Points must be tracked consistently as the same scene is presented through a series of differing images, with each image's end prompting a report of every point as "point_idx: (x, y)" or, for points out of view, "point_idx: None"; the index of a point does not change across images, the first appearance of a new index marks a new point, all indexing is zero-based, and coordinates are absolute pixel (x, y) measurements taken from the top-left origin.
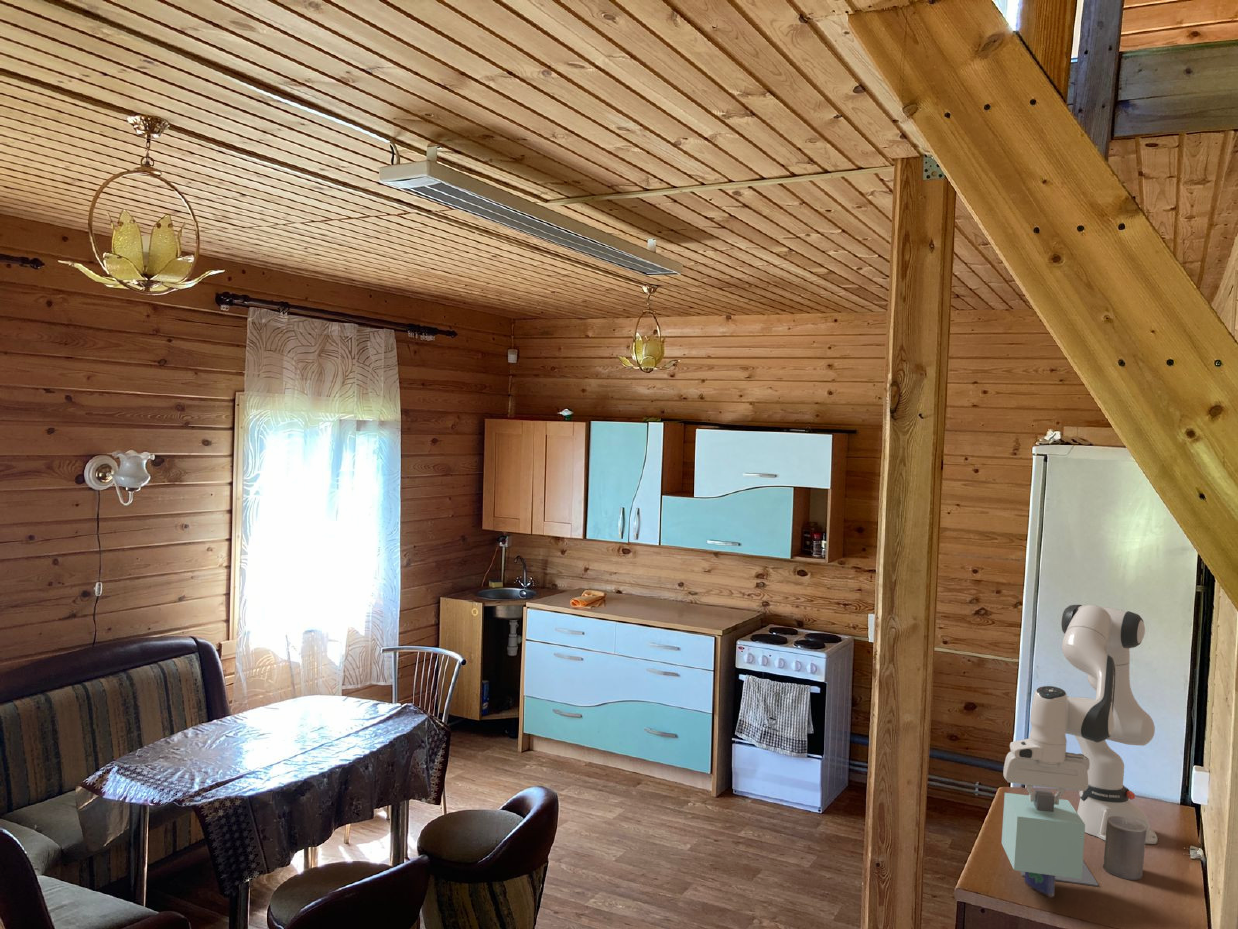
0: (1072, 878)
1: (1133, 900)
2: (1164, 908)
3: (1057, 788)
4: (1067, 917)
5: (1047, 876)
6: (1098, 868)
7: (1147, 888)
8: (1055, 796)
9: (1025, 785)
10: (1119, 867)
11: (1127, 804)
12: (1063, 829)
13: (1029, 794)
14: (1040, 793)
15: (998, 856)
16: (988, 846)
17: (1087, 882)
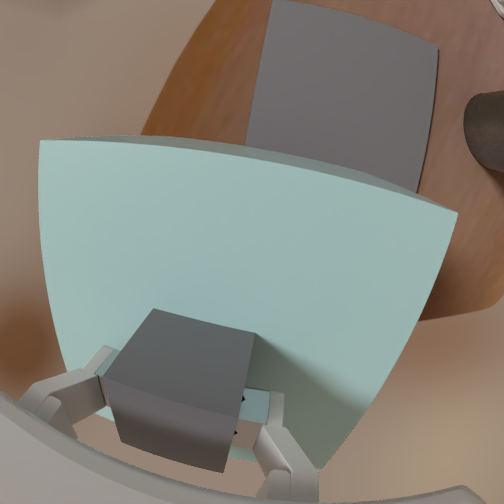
0: (369, 168)
1: (445, 255)
2: (474, 279)
3: (261, 494)
4: None
5: None
6: (454, 111)
7: (496, 204)
8: (258, 436)
9: (32, 391)
10: (486, 159)
11: None
12: None
13: (88, 367)
14: (137, 435)
15: (223, 56)
16: (219, 10)
17: None
